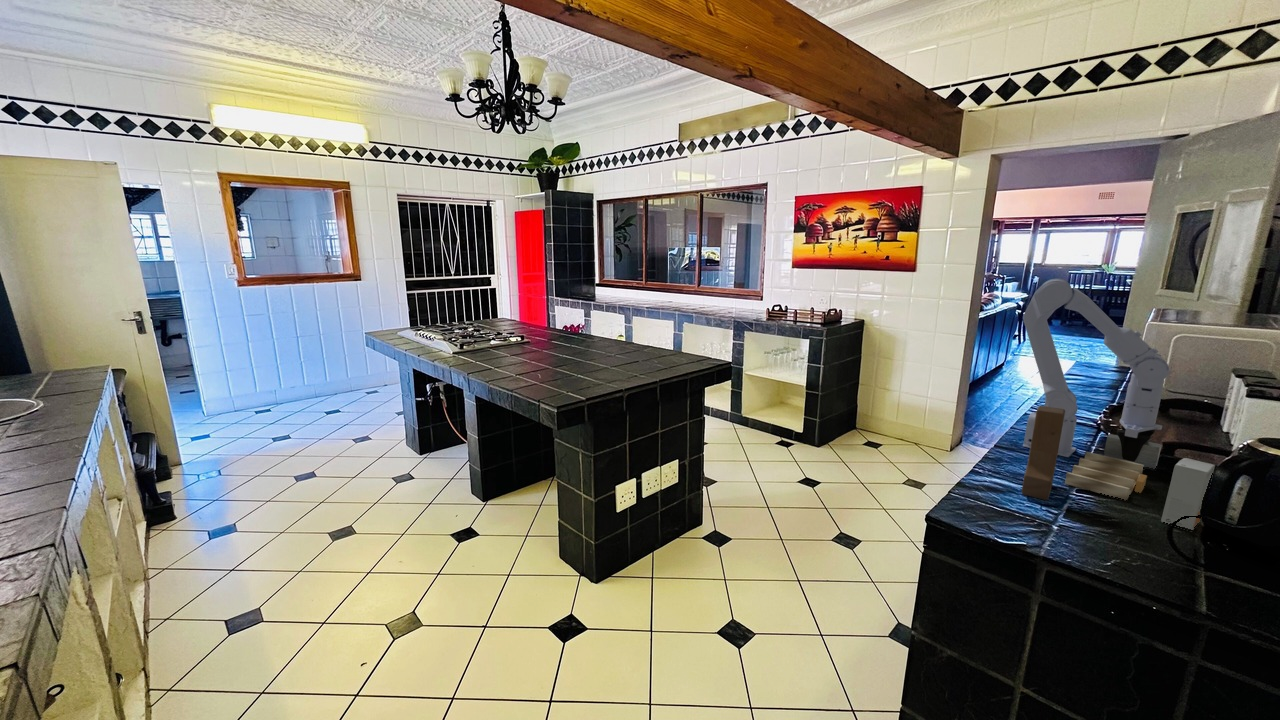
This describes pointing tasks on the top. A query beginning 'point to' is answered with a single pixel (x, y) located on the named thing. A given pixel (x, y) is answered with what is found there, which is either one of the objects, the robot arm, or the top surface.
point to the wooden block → (1043, 452)
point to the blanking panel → (1145, 457)
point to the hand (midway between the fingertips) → (1130, 458)
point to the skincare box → (1187, 492)
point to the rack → (1107, 475)
